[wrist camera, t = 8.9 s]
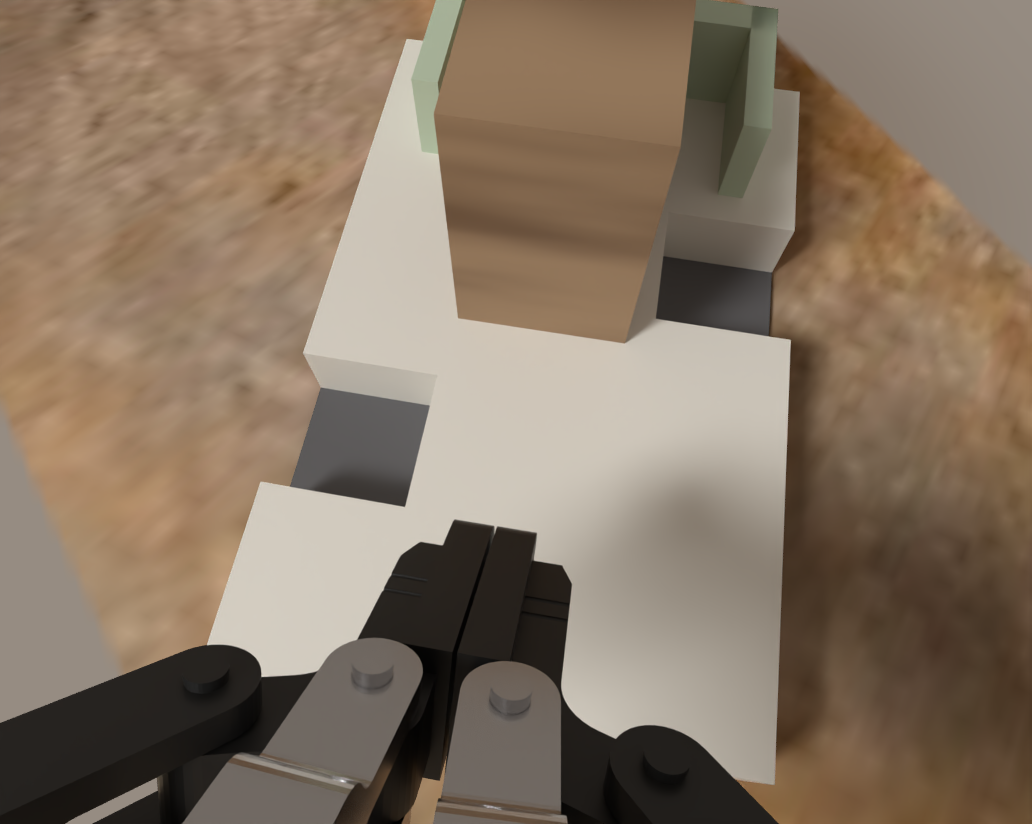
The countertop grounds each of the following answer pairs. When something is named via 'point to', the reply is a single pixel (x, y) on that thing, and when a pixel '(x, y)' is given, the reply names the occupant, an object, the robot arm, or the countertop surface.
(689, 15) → the walnut block
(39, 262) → the countertop surface
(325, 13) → the countertop surface
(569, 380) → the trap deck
